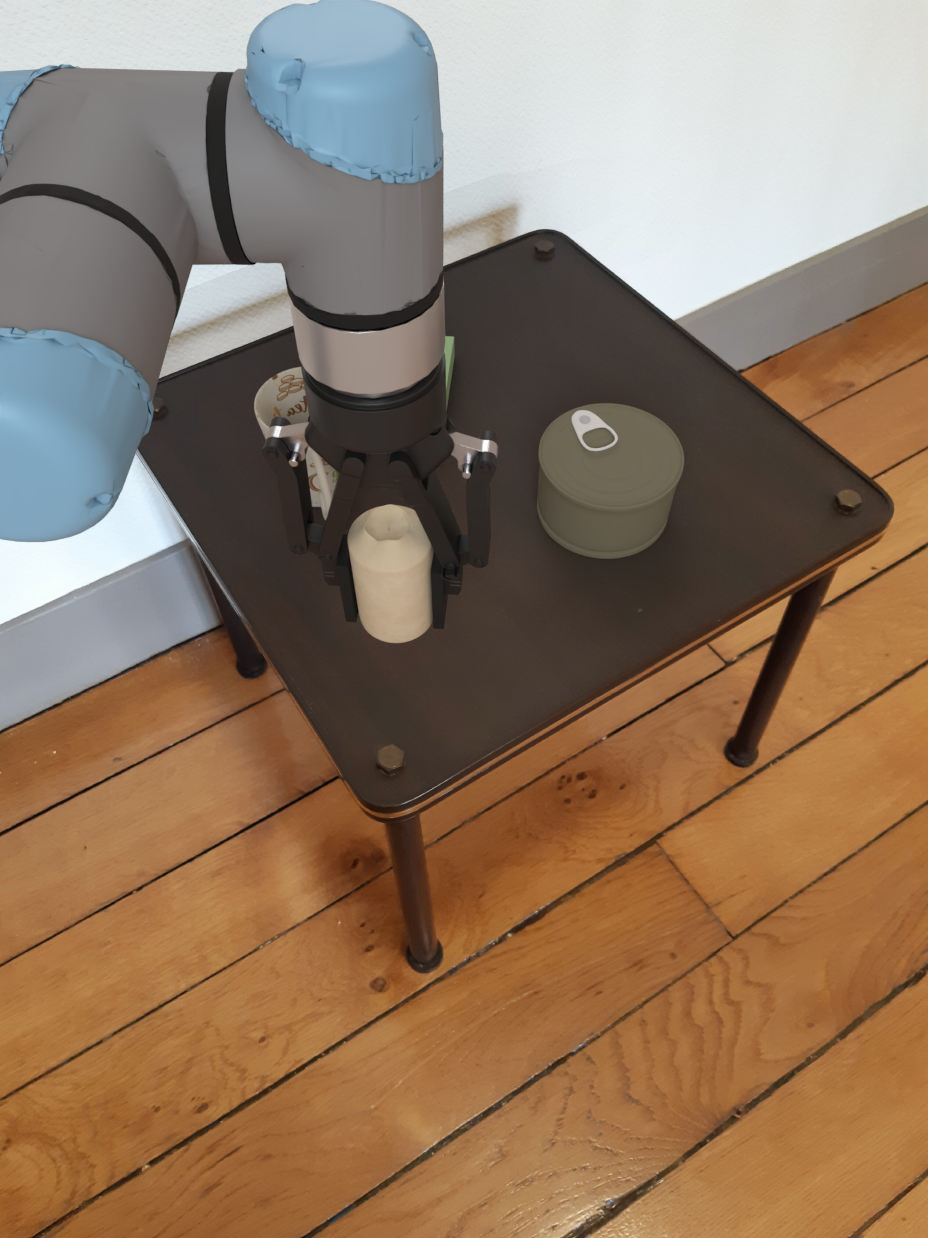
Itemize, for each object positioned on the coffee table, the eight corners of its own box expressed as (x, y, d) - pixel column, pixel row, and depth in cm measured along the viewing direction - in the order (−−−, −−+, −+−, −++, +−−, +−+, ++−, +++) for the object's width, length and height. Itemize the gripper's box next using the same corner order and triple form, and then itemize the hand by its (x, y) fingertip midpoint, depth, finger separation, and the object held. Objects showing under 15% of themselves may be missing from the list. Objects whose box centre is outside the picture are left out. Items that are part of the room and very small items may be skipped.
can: (575, 580, 79) (583, 527, 73) (511, 484, 85) (513, 428, 79) (696, 532, 82) (713, 477, 76) (625, 442, 88) (636, 386, 82)
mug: (353, 440, 88) (341, 356, 80) (390, 539, 82) (380, 458, 73) (266, 461, 87) (244, 378, 79) (296, 563, 80) (276, 484, 72)
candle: (444, 633, 67) (442, 545, 59) (368, 652, 66) (355, 564, 58) (424, 574, 70) (419, 482, 62) (351, 591, 69) (336, 499, 61)
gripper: (555, 316, 50) (529, 578, 69) (213, 295, 51) (280, 559, 70) (549, 415, 46) (523, 664, 65) (176, 390, 47) (258, 643, 66)
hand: (397, 609), depth 68 cm, fingers closed on candle, 5 cm apart
